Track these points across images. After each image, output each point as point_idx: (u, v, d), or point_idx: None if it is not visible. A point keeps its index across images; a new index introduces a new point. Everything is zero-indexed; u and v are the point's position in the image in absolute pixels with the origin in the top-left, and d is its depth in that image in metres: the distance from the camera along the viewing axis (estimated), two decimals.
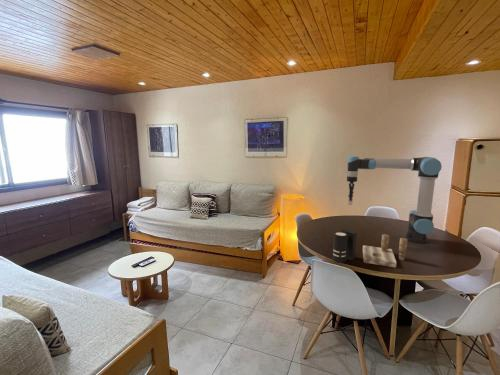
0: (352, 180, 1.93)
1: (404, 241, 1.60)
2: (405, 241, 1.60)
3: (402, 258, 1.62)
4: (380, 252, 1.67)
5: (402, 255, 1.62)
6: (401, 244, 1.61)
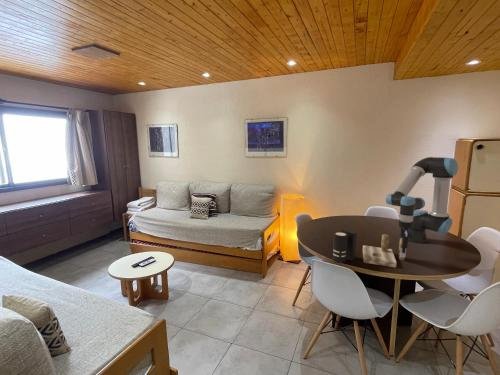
0: (407, 226, 1.57)
1: None
2: None
3: (402, 258, 1.62)
4: (380, 252, 1.67)
5: None
6: (401, 244, 1.61)
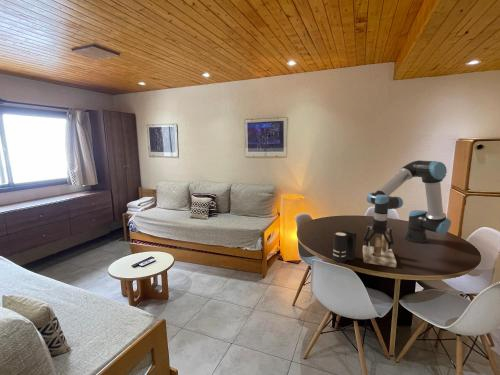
0: (373, 223, 1.61)
1: None
2: (375, 240, 1.62)
3: None
4: None
5: (374, 254, 1.64)
6: None
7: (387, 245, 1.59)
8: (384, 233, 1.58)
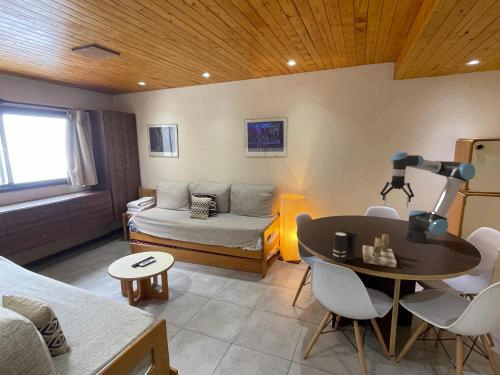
0: (392, 179, 1.73)
1: None
2: (375, 240, 1.62)
3: None
4: None
5: (374, 253, 1.64)
6: None
7: (408, 198, 1.70)
8: (403, 187, 1.70)
